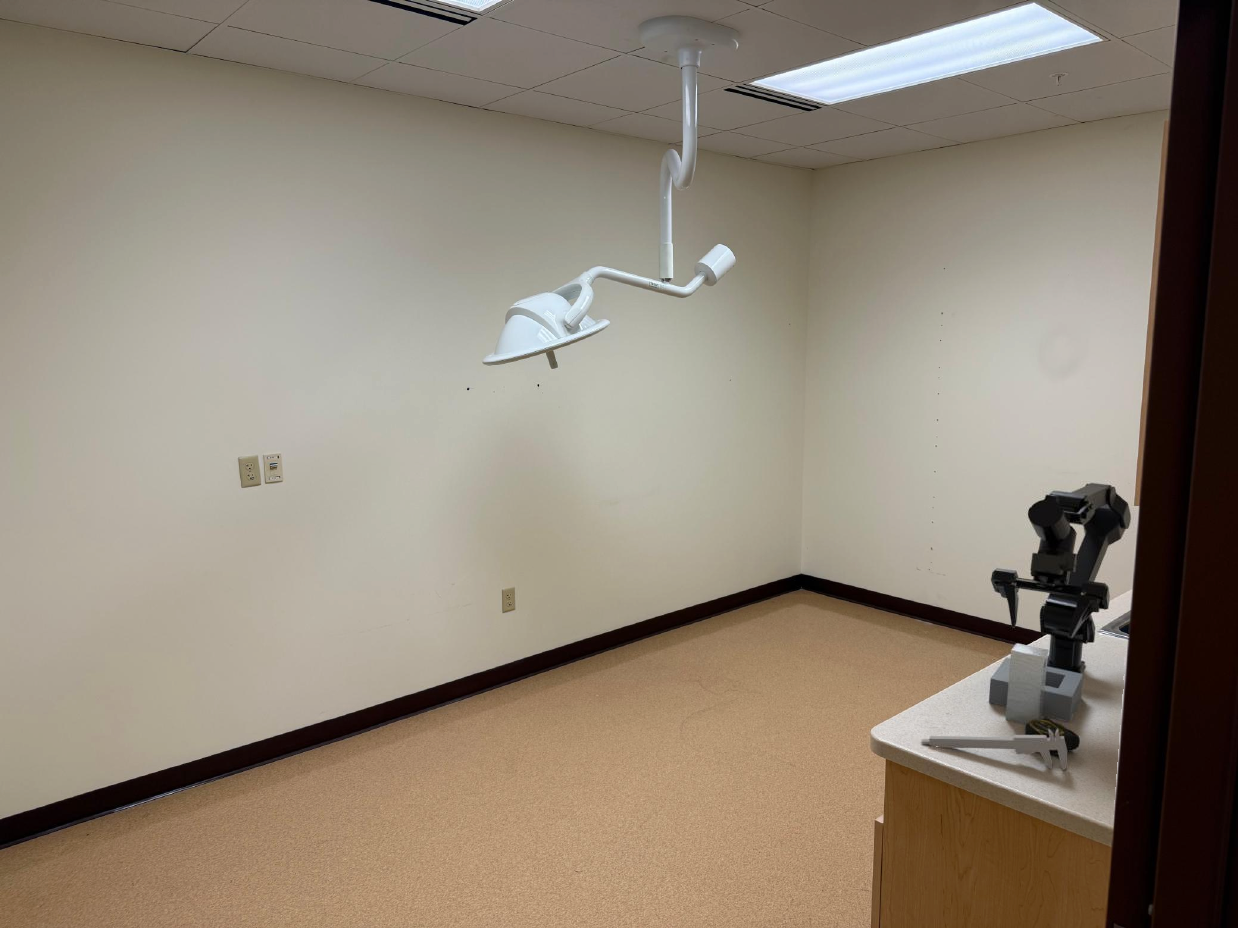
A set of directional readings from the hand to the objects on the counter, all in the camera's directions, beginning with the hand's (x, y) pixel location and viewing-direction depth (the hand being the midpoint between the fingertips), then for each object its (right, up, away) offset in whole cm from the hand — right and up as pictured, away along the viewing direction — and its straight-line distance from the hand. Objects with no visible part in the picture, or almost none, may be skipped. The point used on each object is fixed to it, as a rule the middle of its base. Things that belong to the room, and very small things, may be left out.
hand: (1041, 631), depth 149 cm
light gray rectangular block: (-5, -14, -4) cm, 16 cm away
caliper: (-16, -16, -17) cm, 28 cm away
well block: (+1, -13, +3) cm, 13 cm away
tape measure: (-5, -16, -13) cm, 22 cm away
